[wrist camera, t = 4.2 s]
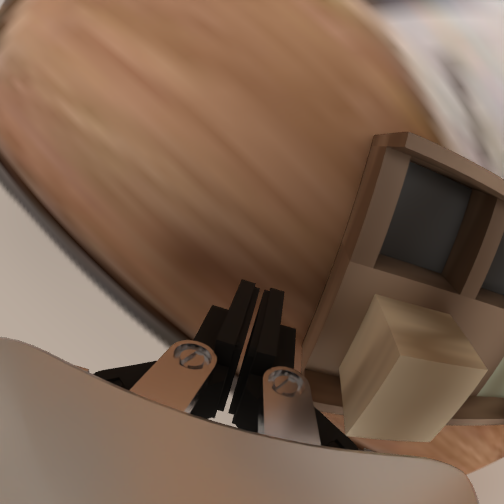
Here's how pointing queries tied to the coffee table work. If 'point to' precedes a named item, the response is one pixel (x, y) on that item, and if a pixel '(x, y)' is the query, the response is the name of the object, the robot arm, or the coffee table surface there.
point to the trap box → (417, 264)
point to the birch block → (406, 372)
